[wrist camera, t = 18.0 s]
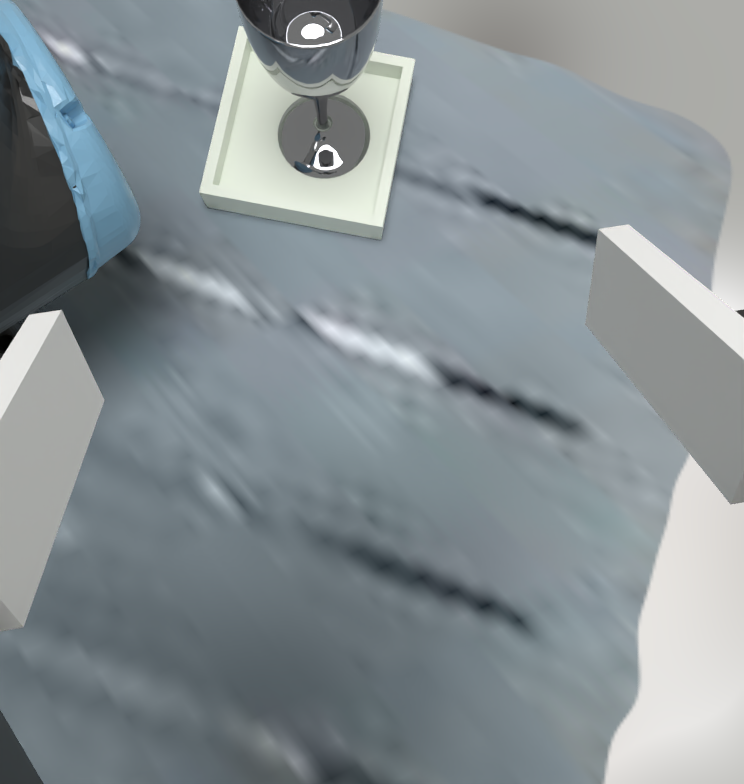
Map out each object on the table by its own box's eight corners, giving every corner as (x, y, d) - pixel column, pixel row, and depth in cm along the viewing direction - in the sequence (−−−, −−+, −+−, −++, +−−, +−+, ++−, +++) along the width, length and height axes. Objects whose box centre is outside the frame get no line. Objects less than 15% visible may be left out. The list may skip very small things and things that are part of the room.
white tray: (207, 207, 46) (199, 192, 44) (245, 48, 48) (239, 25, 46) (381, 240, 46) (382, 227, 44) (412, 80, 48) (415, 59, 46)
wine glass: (378, 90, 47) (388, -86, 32) (372, 187, 46) (379, 51, 31) (276, 83, 47) (238, -97, 32) (267, 180, 46) (224, 40, 31)
